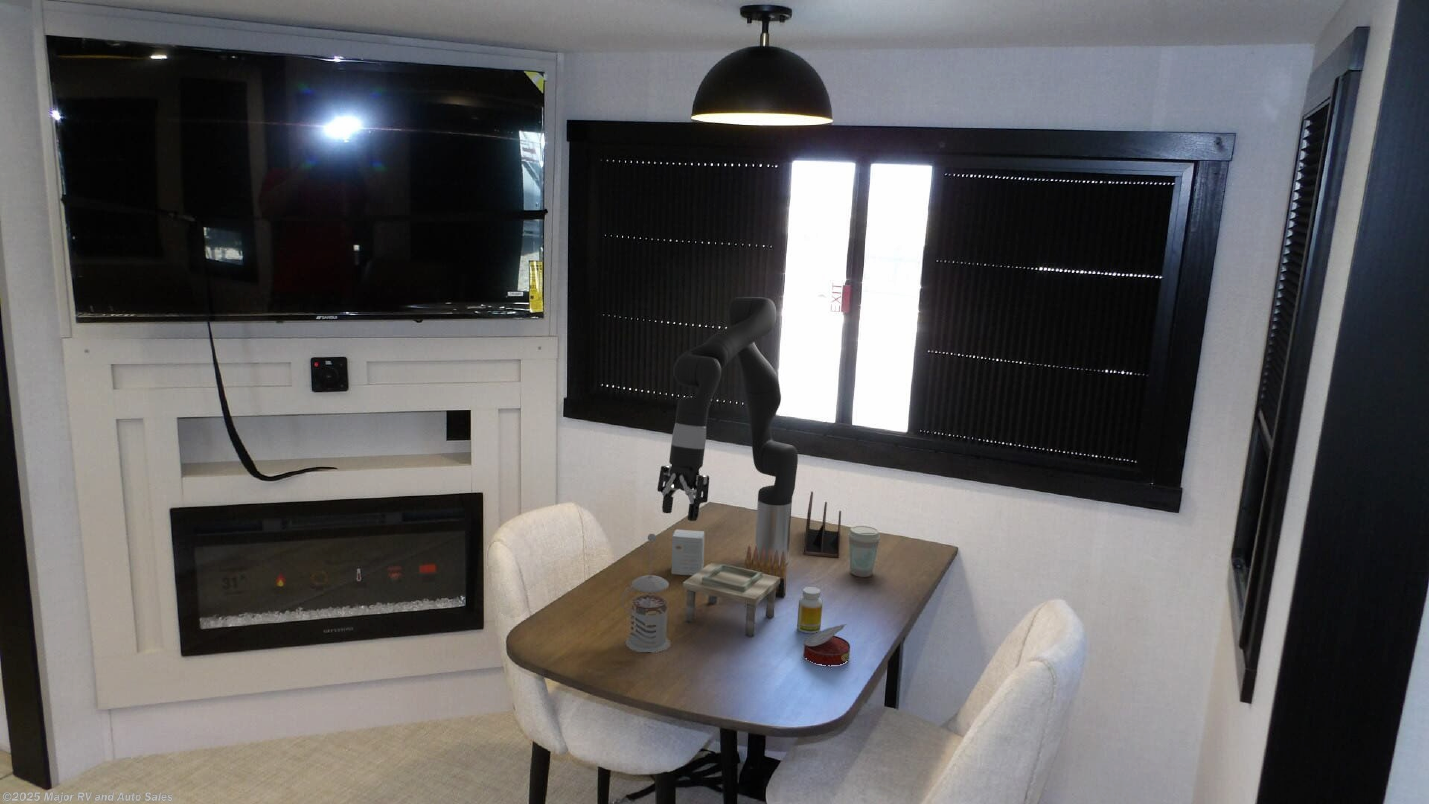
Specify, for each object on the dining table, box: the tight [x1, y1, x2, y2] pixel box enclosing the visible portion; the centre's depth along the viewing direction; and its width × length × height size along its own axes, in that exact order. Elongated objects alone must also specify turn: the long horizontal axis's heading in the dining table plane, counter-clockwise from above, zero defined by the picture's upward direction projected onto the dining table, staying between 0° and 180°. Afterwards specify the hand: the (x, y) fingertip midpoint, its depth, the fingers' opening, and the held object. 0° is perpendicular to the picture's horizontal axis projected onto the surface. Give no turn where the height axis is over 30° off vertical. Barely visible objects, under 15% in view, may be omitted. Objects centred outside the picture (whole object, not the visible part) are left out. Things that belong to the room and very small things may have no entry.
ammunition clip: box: [744, 545, 787, 599], centre depth 240 cm, size 11×2×12 cm, turn 72°
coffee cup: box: [847, 525, 881, 578], centre depth 257 cm, size 8×8×12 cm
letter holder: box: [802, 491, 842, 559], centre depth 277 cm, size 10×20×14 cm, turn 172°
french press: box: [621, 533, 671, 653], centre depth 209 cm, size 10×12×25 cm
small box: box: [671, 529, 705, 576], centre depth 252 cm, size 8×6×10 cm
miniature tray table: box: [682, 562, 780, 638], centre depth 224 cm, size 15×18×11 cm
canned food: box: [803, 623, 851, 666], centre depth 207 cm, size 11×10×10 cm
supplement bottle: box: [796, 586, 823, 635], centre depth 220 cm, size 5×5×10 cm
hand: (679, 516), depth 215 cm, fingers open, 8 cm apart
